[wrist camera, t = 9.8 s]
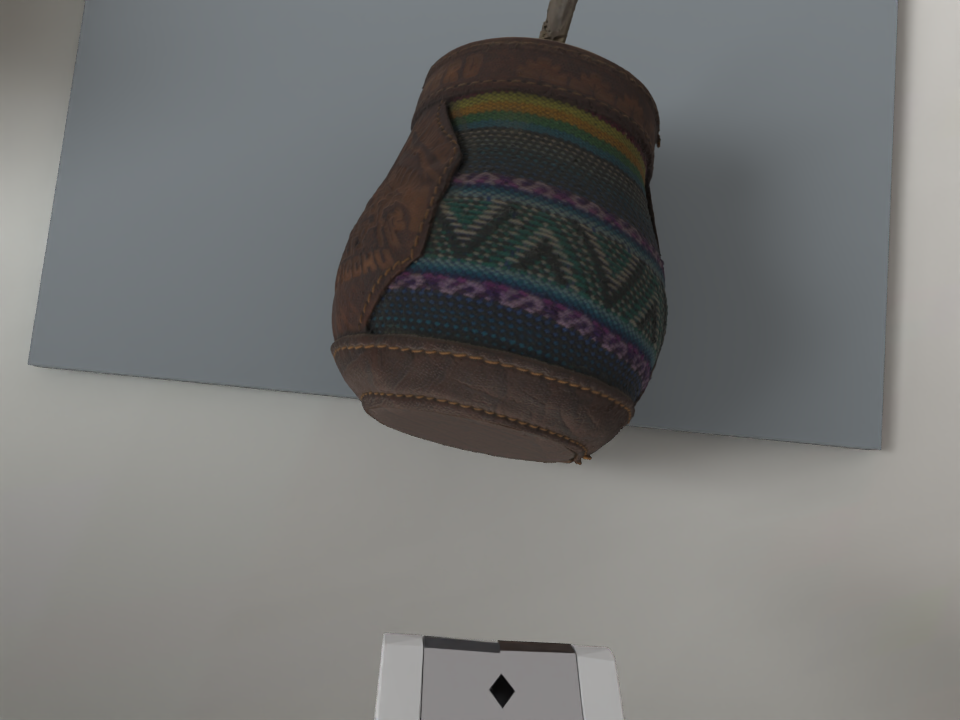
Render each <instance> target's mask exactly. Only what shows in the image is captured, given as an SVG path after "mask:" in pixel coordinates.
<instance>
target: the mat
mask: <svg viewBox="0 0 960 720" xmlns="http://www.w3.org/2000/svg"><path fill="white" fill-rule="evenodd" d="M549 2H550V0H85V6H84V13H83V19H82V25H81V32H80V38H79V44H78V50H77V57H76V63H75V69H74V76H73V82H72V88H71V94H70V101H69V107H68V113H67V120H66V126H65V132H64V139H63V145H62V151H61V157H60V164H59V170H58V176H57V183H56V189H55V195H54V201H53V208H52V214H51V220H50V227H49V233H48V239H47V245H46V252H45V258H44V264H43V271H42V277H41V283H40V290H39V296H38V302H37V308H36V315H35V321H34V327H33V334H32V340H31V346H30V352H29V359H28V365H33V366H37V367H45V368H55V369H65V370H75V371H85V372H95V373H105V374H115V375H125V376H135V377H145V378H155V379H165V380H175V381H185V382H195V383H205V384H215V385H225V386H235V387H245V388H255V389H265V390H275V391H285V392H295V393H305V394H315V395H325V396H335V397H345V398H355V399H359V398H358V397H357V396H356V394H355V393H354V392H353V391H352V389H351V388H350V387H349V386H348V384H347V383H346V382H345V381H344V378H343V377H342V375H341V373H340V371H339V369H338V367H337V365H336V363H335V360H334V357H333V355H332V354H331V350H330V347H331V345H332V343H334V342H335V341H334V337H333V331H332V305H333V300H334V296H335V280H336V275H337V271H338V267H339V264H340V261H341V258H342V254H343V252H344V250H345V246H346V244H347V242H348V239H349V235H350V232H351V231H352V229H353V227H354V225H355V224H356V223H357V221H358V219H359V217H360V216H361V214H362V213H363V211H364V210H365V207H366V204H367V203H368V201H369V199H370V198H372V196H373V194H374V193H375V192H376V190H377V189H378V187H379V186H380V185H381V183H382V182H383V181H384V179H385V178H386V176H387V174H388V173H389V171H390V169H391V168H392V166H393V164H394V163H395V161H396V159H397V157H398V156H399V153H400V152H401V150H402V148H403V146H404V144H405V143H406V141H407V139H408V137H409V135H410V133H411V122H412V118H413V115H414V113H415V109H416V106H417V102H418V99H419V96H420V94H421V92H422V90H423V89H422V87H423V84H424V82H425V78H426V76H427V74H428V71H429V70H430V68H431V66H432V65H433V64H434V63H435V62H436V61H437V60H439V59H440V58H441V57H442V56H444V55H445V54H447V53H448V52H450V51H451V50H453V49H456V48H457V47H460V46H463V45H465V44H468V43H471V42H475V41H480V40H485V39H491V38H500V37H531V38H539V35H540V31H541V30H542V25H543V22H545V21H546V18H547V9H548V5H549ZM897 14H898V0H578V2H577V4H576V7H575V11H574V13H573V18H572V21H571V24H570V27H569V30H568V34H567V38H566V41H565V43H566V44H569V45H573V46H576V47H579V48H582V49H585V50H588V51H590V52H593V53H595V54H597V55H600V56H602V57H604V58H606V59H608V60H610V61H612V62H613V63H615V64H617V65H619V66H621V67H622V68H624V69H625V70H627V71H629V72H630V73H631V74H632V75H634V76H635V77H636V78H637V79H638V80H640V81H641V82H642V83H643V84H644V85H645V87H646V88H647V89H648V90H649V92H650V94H651V95H652V97H653V99H654V101H655V103H656V106H657V109H658V112H659V117H660V118H659V119H660V131H659V135H660V139H661V141H660V147H659V148H657V144H655V150H654V153H655V154H654V155H655V157H654V165H653V166H654V170H653V175H652V179H651V181H650V185H649V186H650V191H651V199H652V205H653V212H654V217H655V225H656V230H657V235H658V241H659V248H660V254H661V259H662V260H663V261H664V265H663V267H664V274H665V286H666V287H665V292H666V297H667V305H668V309H667V310H668V315H667V326H666V334H665V336H664V341H663V342H664V343H663V345H662V347H661V348H662V349H661V351H660V354H659V357H658V359H657V363H656V367H655V369H654V370H653V373H652V376H651V377H652V379H651V380H649V382H648V386H647V387H646V389H645V392H644V393H643V394H642V396H641V399H640V400H639V401H638V402H637V403H636V406H635V407H634V408H635V412H634V413H635V414H634V417H632V419H631V421H630V423H629V424H627V425H626V426H636V427H646V428H656V429H666V430H676V431H686V432H696V433H706V434H716V435H726V436H736V437H746V438H756V439H766V440H776V441H786V442H796V443H806V444H816V445H826V446H836V447H846V448H856V449H866V450H881V438H882V412H883V385H884V359H885V332H886V306H887V279H888V253H889V226H890V200H891V173H892V146H893V120H894V93H895V67H896V40H897Z"/></svg>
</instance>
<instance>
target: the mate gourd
mask: <svg viewBox="0 0 960 720" xmlns="http://www.w3.org/2000/svg"><path fill="white" fill-rule="evenodd" d="M577 2H578V0H550V2H549V5H548V9H547V18H546V21H545V22H543V25H542V30H541V31H540V35H539V38H531V37H500V38H491V39H485V40H480V41H475V42H471V43H468V44H465V45H463V46H460V47H457V48H456V49H453V50H451V51H450V52H448V53H447V54H445V55H444V56H442V57H441V58H440V59H439V60H437V61H436V62H435V63H434V64H433V65H432V66H431V68H430V70H429V71H428V74H427V76H426V78H425V82H424V84H423V87H422V89H423V90H422V92H421V94H420V96H419V99H418V102H417V106H416V109H415V113H414V115H413V118H412V122H411V133H410V135H409V137H408V139H407V141H406V143H405V144H404V146H403V148H402V150H401V152H400V153H399V156H398V157H397V159H396V161H395V163H394V164H393V166H392V168H391V169H390V171H389V173H388V174H387V176H386V178H385V179H384V181H383V182H382V183H381V185H380V186H379V187H378V189H377V190H376V192H375V193H374V194H373V196H372V198H370V199H369V201H368V203H367V204H366V207H365V210H364V211H363V213H362V214H361V216H360V217H359V219H358V221H357V223H356V224H355V225H354V227H353V229H352V231H351V232H350V235H349V239H348V242H347V244H346V246H345V250H344V252H343V254H342V258H341V261H340V264H339V267H338V271H337V275H336V280H335V296H334V300H333V305H332V331H333V337H334V341H335V342H334V343H332V345H331V347H330V350H331V354H332V355H333V357H334V360H335V363H336V365H337V367H338V369H339V371H340V373H341V375H342V377H343V378H344V381H345V382H346V383H347V384H348V386H349V387H350V388H351V389H352V391H353V392H354V393H355V394H356V396H357V397H358V398H359V400H360V401H362V406H363V408H364V410H365V411H366V413H367V414H369V415H370V416H371V417H373V418H374V419H376V420H377V421H379V422H380V423H382V424H383V425H386V426H387V427H390V428H393V429H395V430H398V431H401V432H403V433H406V434H409V435H411V436H415V437H418V438H422V439H424V440H429V441H432V442H436V443H439V444H442V445H446V446H450V447H454V448H459V449H462V450H468V451H472V452H478V453H483V454H488V455H492V456H497V457H503V458H510V459H518V460H519V459H520V460H528V461H536V462H544V463H547V462H548V463H556V462H561V463H571V462H573V461H574V462H575V463H576V464H579V465H581V464H582V463H581V458H583V459H589V460H591V459H592V457H590V454H592V453H593V452H595V451H597V450H598V449H599V448H601V447H602V446H603V445H605V444H606V443H608V442H609V441H610V440H611V439H613V438H614V437H615V435H617V434H618V432H619V431H620V429H622V428H623V426H625V425H627V424H629V423H630V421H631V419H632V417H634V414H635V413H634V412H635V408H634V407H635V406H636V403H637V402H638V401H639V400H640V399H641V396H642V394H643V393H644V392H645V389H646V387H647V386H648V382H649V380H651V379H652V377H651V376H652V373H653V370H654V369H655V367H656V363H657V359H658V357H659V354H660V351H661V349H662V348H661V347H662V345H663V343H664V342H663V341H664V336H665V334H666V326H667V315H668V310H667V309H668V305H667V297H666V292H665V287H666V286H665V274H664V267H663V265H664V261H663V260H662V259H661V254H660V248H659V241H658V235H657V230H656V225H655V217H654V212H653V205H652V199H651V191H650V186H649V185H650V181H651V179H652V175H653V170H654V166H653V165H654V157H655V155H654V154H655V153H654V150H655V144H657V148H659V147H660V141H661V139H660V135H659V131H660V119H659V118H660V117H659V112H658V109H657V106H656V103H655V101H654V99H653V97H652V95H651V94H650V92H649V90H648V89H647V88H646V87H645V85H644V84H643V83H642V82H641V81H640V80H638V79H637V78H636V77H635V76H634V75H632V74H631V73H630V72H629V71H627V70H625V69H624V68H622V67H621V66H619V65H617V64H615V63H613V62H612V61H610V60H608V59H606V58H604V57H602V56H600V55H597V54H595V53H593V52H590V51H588V50H585V49H582V48H579V47H576V46H573V45H569V44H566V43H565V41H566V38H567V34H568V30H569V27H570V24H571V21H572V18H573V13H574V11H575V7H576V4H577Z"/></svg>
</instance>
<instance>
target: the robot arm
mask: <svg viewBox="0 0 960 720" xmlns="http://www.w3.org/2000/svg"><path fill="white" fill-rule="evenodd" d="M374 720H625V717H624V711H623V705H622V698H621V692H620V685H619V679H618V673H617V666H616V660H615V656H614V654H613V653H612V651H611V649H610V648H608V647H598V646H581V645H571V644H560V643H540V642H520V641H500V640H498V641H492V640H477V639H463V638H449V637H434V636H423V635H417V634H399V633H384V635H383V643H382V651H381V660H380V669H379V678H378V687H377V696H376V705H375V713H374Z"/></svg>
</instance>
